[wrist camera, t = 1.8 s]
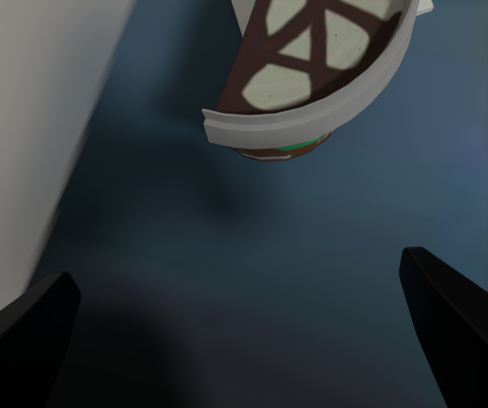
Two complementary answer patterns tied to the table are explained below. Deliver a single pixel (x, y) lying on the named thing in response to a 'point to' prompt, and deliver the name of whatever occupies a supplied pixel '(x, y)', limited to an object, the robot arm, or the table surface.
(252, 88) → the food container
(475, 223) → the table surface
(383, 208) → the table surface
